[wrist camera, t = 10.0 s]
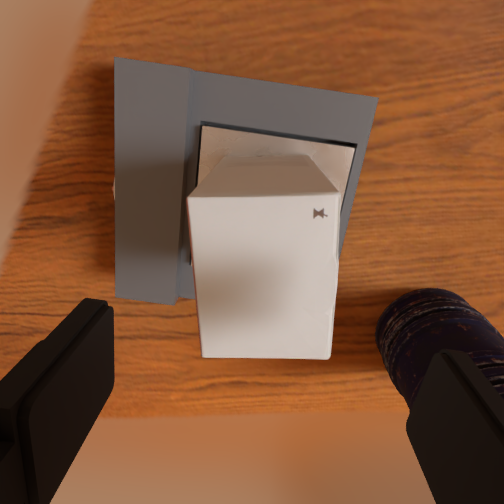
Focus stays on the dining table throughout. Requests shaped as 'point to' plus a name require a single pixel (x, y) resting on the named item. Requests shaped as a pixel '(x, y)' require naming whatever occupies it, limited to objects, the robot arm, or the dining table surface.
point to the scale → (188, 157)
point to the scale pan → (273, 151)
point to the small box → (265, 258)
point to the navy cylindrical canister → (435, 338)
